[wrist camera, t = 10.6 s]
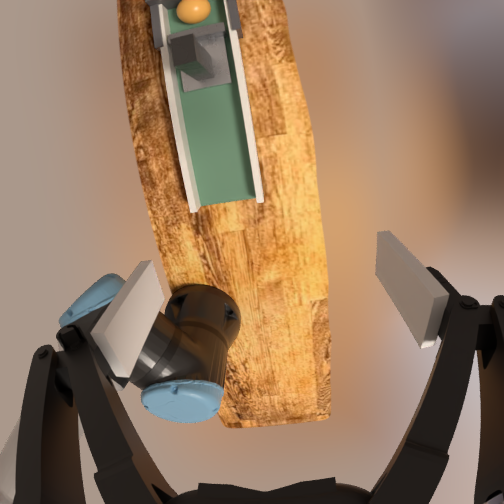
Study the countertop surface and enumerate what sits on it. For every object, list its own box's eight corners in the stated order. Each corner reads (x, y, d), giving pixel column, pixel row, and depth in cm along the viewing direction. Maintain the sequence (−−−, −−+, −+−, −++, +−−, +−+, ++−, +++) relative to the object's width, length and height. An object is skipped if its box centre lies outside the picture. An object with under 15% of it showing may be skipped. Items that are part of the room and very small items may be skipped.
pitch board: (263, 194, 45) (263, 202, 41) (196, 204, 46) (190, 212, 42) (229, -10, 30) (226, -22, 26) (163, 5, 31) (154, -4, 27)
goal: (243, 38, 34) (240, 23, 28) (165, 54, 35) (149, 45, 29) (234, -7, 30) (230, -26, 24) (159, 10, 31) (144, -4, 25)
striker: (235, 82, 36) (224, 65, 24) (182, 93, 37) (151, 83, 25) (226, 29, 32) (213, -4, 20) (174, 41, 33) (143, 15, 21)
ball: (208, 20, 33) (206, 29, 31) (176, 18, 31) (171, 26, 29) (214, -6, 28) (213, 0, 26) (181, -9, 27) (177, -3, 25)
